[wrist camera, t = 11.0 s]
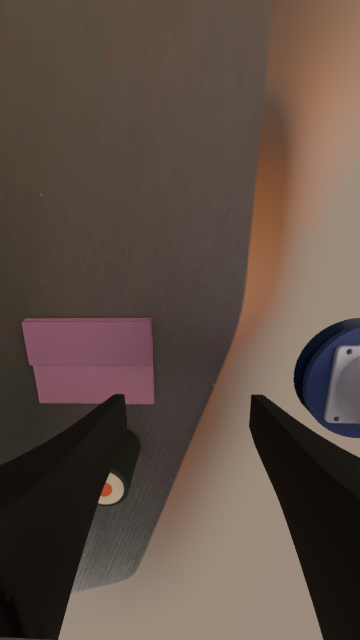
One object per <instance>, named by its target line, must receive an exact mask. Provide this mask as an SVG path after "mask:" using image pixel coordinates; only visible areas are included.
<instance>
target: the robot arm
mask: <svg viewBox="0 0 360 640" xmlns="http://www.w3.org/2000/svg"><path fill="white" fill-rule="evenodd" d="M348 349H349V351H348V352H347V353H346V351H347V350H348ZM335 417H336V418H335ZM324 419H325V420H326V421H327V422H328V423H358V424H359V425H360V345H340V346H338V347H337V348H336V349H335V353H334V359H333V365H332V371H331V377H330V382H329V388H328V394H327V400H326V406H325V411H324ZM249 427H250V430H251V434H252V437H253V440H254V444H255V446H256V449H257V451H258V453H259V456H260V458H261V460H262V463H263V465H264V467H265V469H266V471H267V474H268V476H269V478H270V481H271V483H272V485H273V487H274V490H275V492H276V494H277V496H278V499H279V502H280V505H281V507H282V510H283V513H284V516H285V519H286V522H287V525H288V527H289V531H290V533H291V537H292V540H293V542H294V545H295V549H296V552H297V555H298V558H299V561H300V564H301V567H302V570H303V573H304V577H305V580H306V583H307V586H308V589H309V593H310V596H311V599H312V602H313V606H314V609H315V612H316V615H317V619H318V622H319V626H320V629H321V633H322V636H323V639H324V640H360V458H359V457H357V456H355V455H353V454H351V453H349V452H347V451H346V450H344V449H342V448H340V447H338V446H337V445H335V444H333V443H331V442H330V441H328V440H326V439H325V438H323V437H321V436H320V435H318V434H317V433H315V432H313V431H312V430H311V429H309V428H308V427H306V426H304V425H303V424H301V423H300V422H299V421H297V420H296V419H295V418H293V417H292V416H290V415H289V414H288V413H286V412H285V411H284V410H282V409H281V408H280V407H278V406H277V405H276V404H274V403H273V402H272V401H271V400H269V399H267V398H266V397H265V396H263V395H251V408H250V423H249ZM126 428H127V417H126V405H125V394H114V395H112V396H111V397H109V398H108V399H107V400H105V401H104V402H103V403H102V404H100V405H99V406H98V407H97V408H95V409H94V410H93V411H91V412H90V413H89V414H87V415H86V416H85V417H83V418H82V419H81V420H79V421H78V422H76V423H75V424H73V425H72V426H71V427H69V428H68V429H66V430H65V431H63V432H62V433H60V434H58V435H57V436H55V437H53V438H52V439H50V440H48V441H47V442H45V443H43V444H42V445H40V446H38V447H36V448H34V449H32V450H30V451H28V452H26V453H25V454H23V455H21V456H19V457H17V458H15V459H13V460H11V461H8V462H6V463H4V464H2V465H0V640H58V637H59V634H60V630H61V626H62V623H63V619H64V615H65V612H66V608H67V604H68V600H69V597H70V593H71V590H72V586H73V583H74V580H75V576H76V573H77V569H78V566H79V562H80V559H81V555H82V552H83V549H84V546H85V542H86V539H87V536H88V533H89V529H90V526H91V523H92V520H93V517H94V514H95V511H96V508H97V504H98V501H99V498H100V496H101V493H102V491H103V488H104V486H105V483H106V481H107V478H108V476H109V474H110V471H111V469H112V466H113V464H114V462H115V459H116V457H117V454H118V452H119V450H120V447H121V445H122V442H123V438H124V435H125V431H126Z"/></svg>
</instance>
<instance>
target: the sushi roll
mask: <svg viewBox="0 0 360 640" xmlns="http://www.w3.org/2000/svg"><path fill="white" fill-rule="evenodd" d="M139 450H140V444H139V441H138V439H137V437H136V436H135V435H134V434H133V433H132V432H130V431H128V430H126V431H125V435H124V438H123V442H122V445H121V447H120V450H119V452H118V454H117V457H116V459H115V462H114V464H113V466H112V469H111V471H110V474H109V476H108V478H107V481H106V483H105V486H104V488H103V491H102V493H101V496H100V498H99V501H98V504H97V505H101V506H113V505H116V504H119V503H120V502H122V501H123V500H124V499H125V498H126V496H127V494H128V491H129V488H130V484H131V480H132V476H133V473H134V469H135V465H136V461H137V458H138V454H139Z"/></svg>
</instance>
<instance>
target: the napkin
mask: <svg viewBox="0 0 360 640" xmlns="http://www.w3.org/2000/svg"><path fill="white" fill-rule="evenodd" d="M21 323H22V328H23V333H24V339H25V344H26V350H27V355H28V360H29V365H30V366H33V369H34V374H35V380H36V385H37V391H38V396H39V402H40V403H80V404H102V403H103V402H104V401H105V400H107V399H108V398H109V397H111V396H112V395H114V394H125V404H154V403H155V390H154V364H153V338H152V318H25V321H22V322H21Z"/></svg>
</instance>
